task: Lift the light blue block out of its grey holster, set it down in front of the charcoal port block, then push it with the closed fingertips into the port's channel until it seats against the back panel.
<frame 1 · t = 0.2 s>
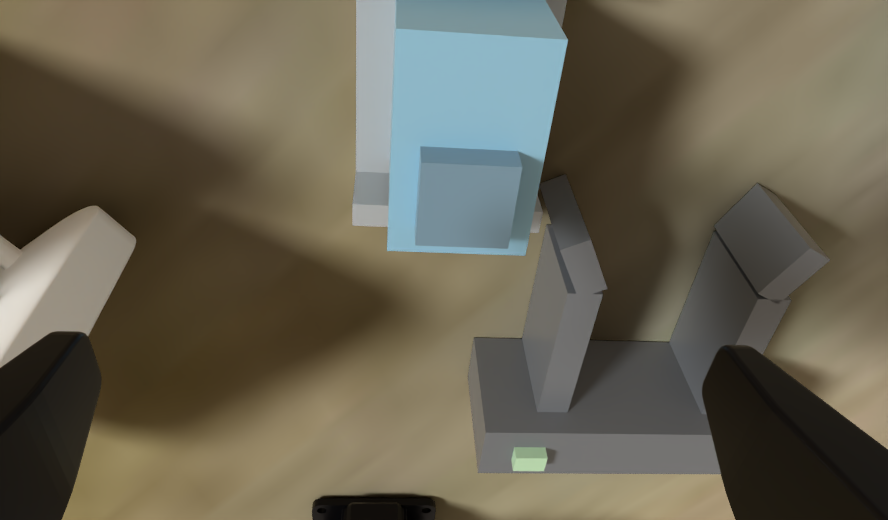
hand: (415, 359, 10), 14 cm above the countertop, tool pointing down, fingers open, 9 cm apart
port: (615, 324, 28), on the countertop
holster: (453, 63, 21), on the countertop
light blue block: (455, 76, 20), point 1 cm above the countertop, touching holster
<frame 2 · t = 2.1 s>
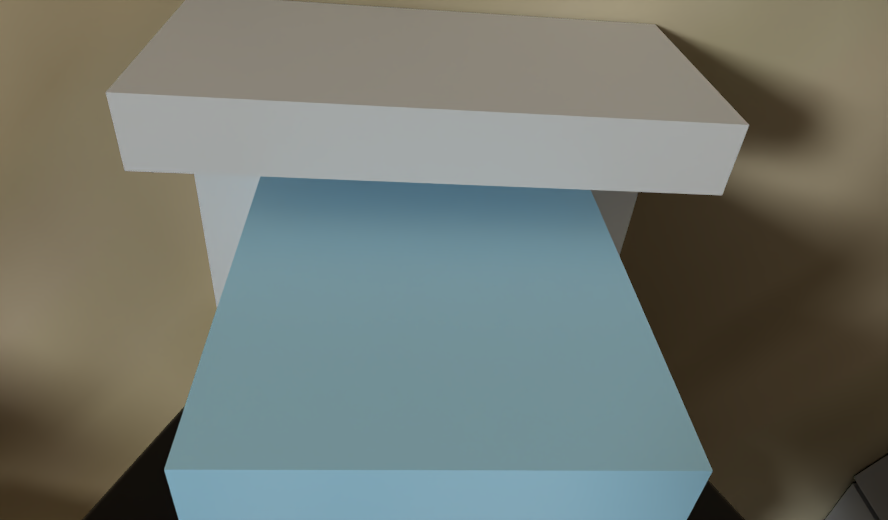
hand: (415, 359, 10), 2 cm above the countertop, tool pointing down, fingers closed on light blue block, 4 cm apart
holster: (413, 271, 11), on the countertop
light blue block: (414, 311, 10), point 1 cm above the countertop, touching gripper, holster
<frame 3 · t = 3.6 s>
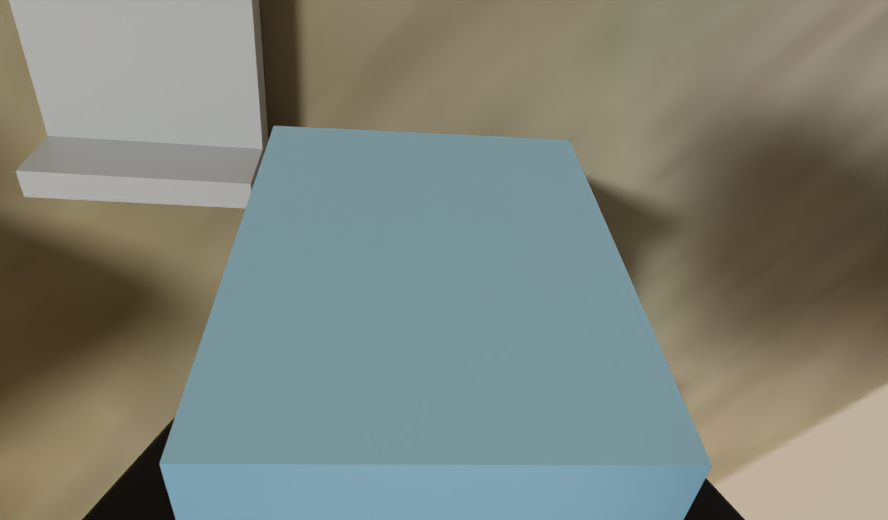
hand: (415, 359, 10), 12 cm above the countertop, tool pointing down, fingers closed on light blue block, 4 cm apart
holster: (146, 8, 18), on the countertop
light blue block: (412, 308, 10), point 11 cm above the countertop, touching gripper
when the fingers open (2 cm above the countertop, at t = 5.5 s): light blue block drops 1 cm, on the countertop.
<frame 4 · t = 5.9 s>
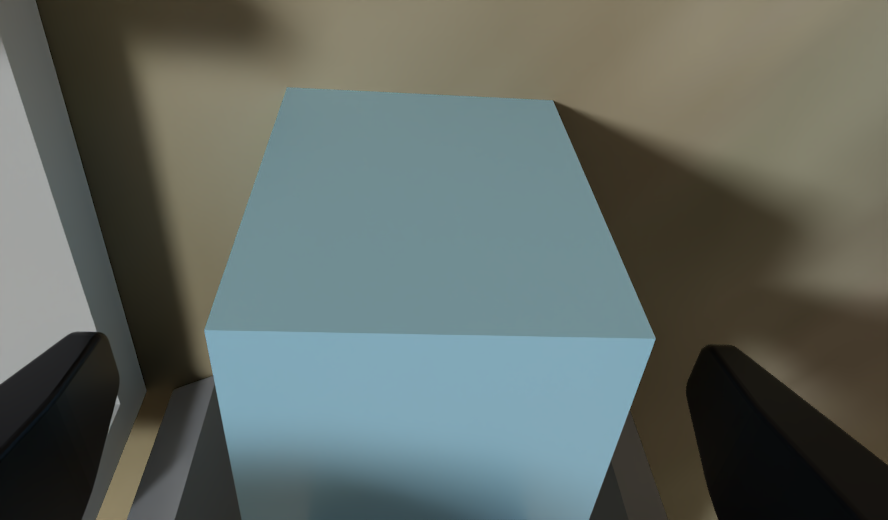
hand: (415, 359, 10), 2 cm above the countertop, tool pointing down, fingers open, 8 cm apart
light blue block: (412, 258, 11), on the countertop
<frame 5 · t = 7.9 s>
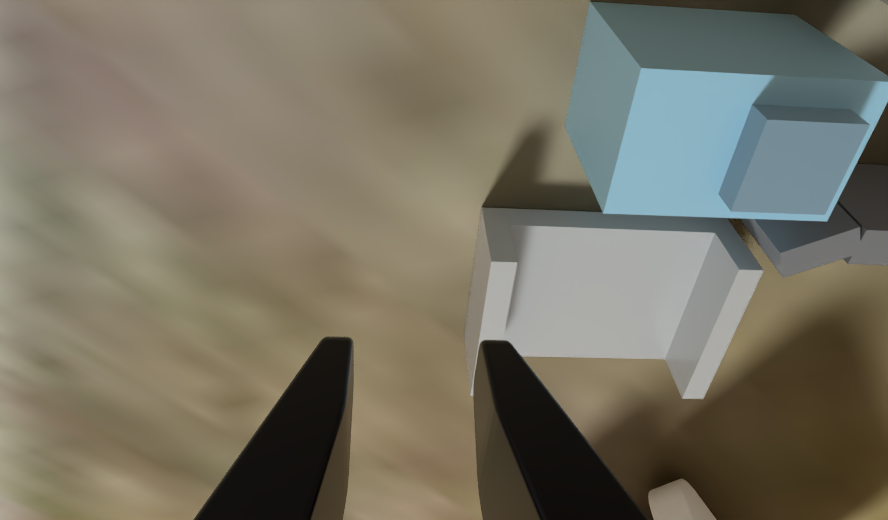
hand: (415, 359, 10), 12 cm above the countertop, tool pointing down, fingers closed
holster: (587, 280, 25), on the countertop
light blue block: (674, 72, 20), on the countertop
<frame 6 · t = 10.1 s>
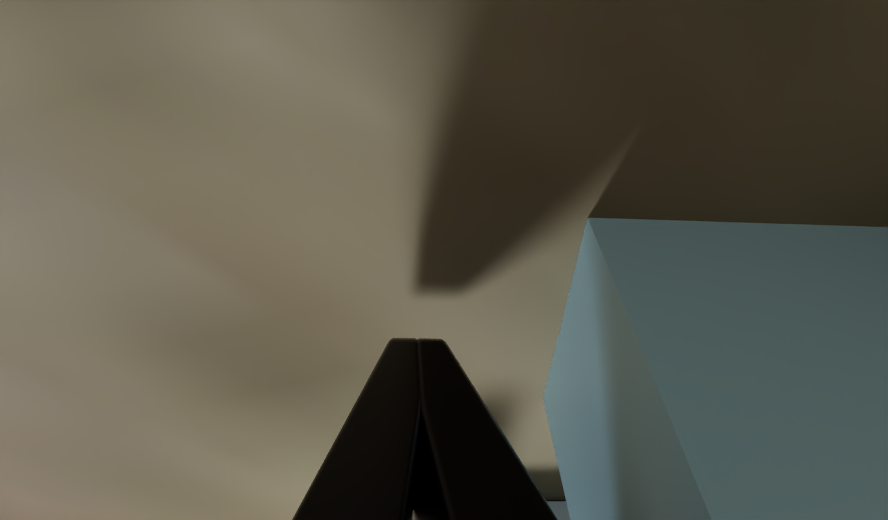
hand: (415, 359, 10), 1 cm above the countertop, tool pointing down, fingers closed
light blue block: (744, 320, 11), on the countertop, touching gripper
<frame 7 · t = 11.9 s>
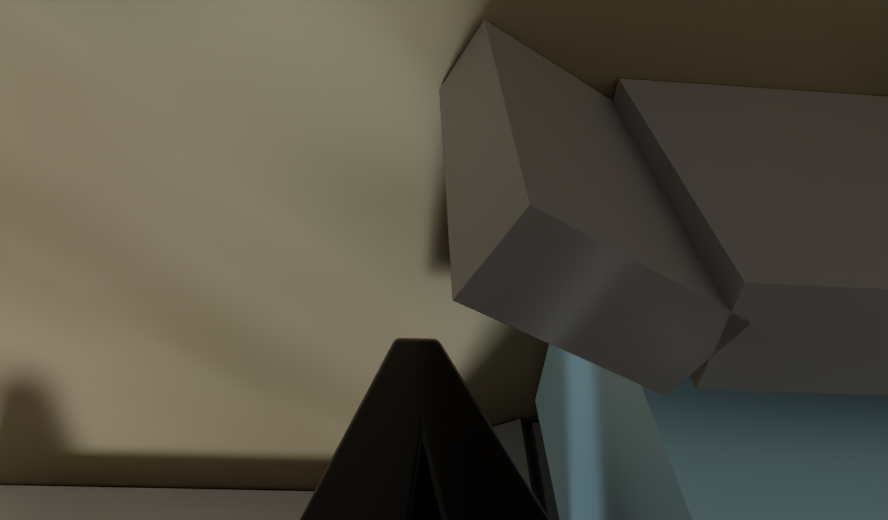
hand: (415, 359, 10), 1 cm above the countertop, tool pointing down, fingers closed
port: (858, 325, 11), on the countertop
light blue block: (735, 325, 11), resting in port, touching gripper
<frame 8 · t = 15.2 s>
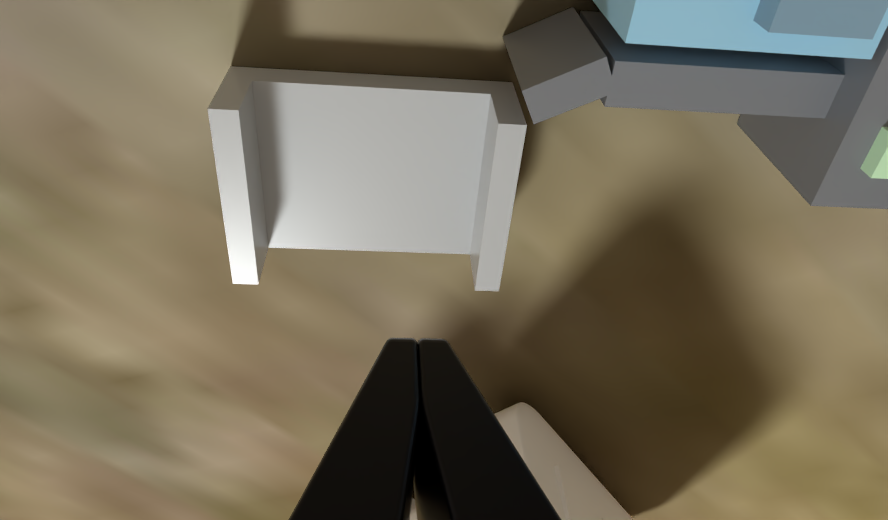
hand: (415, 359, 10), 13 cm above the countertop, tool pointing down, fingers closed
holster: (372, 160, 22), on the countertop
cable organizer: (502, 487, 34), on the countertop
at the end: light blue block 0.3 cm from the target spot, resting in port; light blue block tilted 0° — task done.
